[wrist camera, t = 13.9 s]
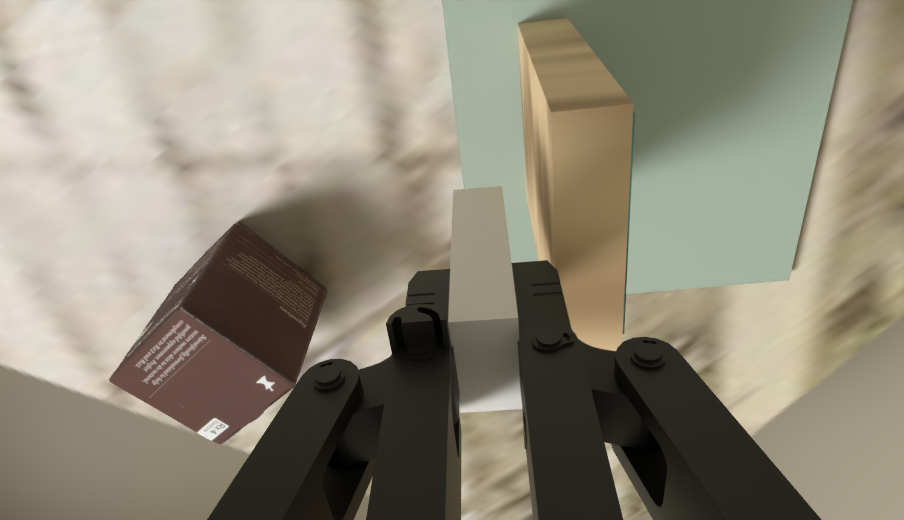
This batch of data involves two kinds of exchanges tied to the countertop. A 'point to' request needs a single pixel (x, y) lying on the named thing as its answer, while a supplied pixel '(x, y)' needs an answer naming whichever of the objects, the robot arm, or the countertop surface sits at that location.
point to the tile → (578, 174)
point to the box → (225, 338)
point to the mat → (670, 123)
